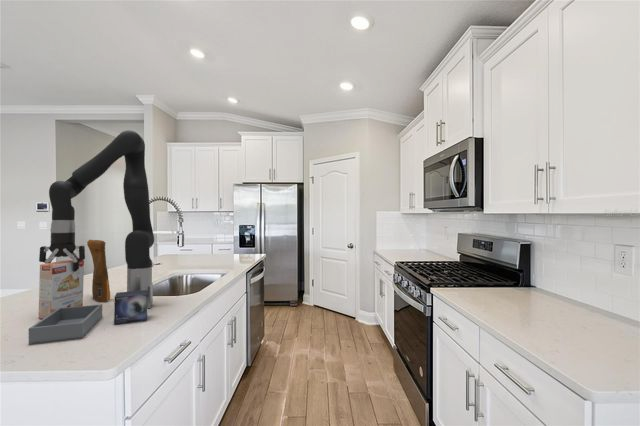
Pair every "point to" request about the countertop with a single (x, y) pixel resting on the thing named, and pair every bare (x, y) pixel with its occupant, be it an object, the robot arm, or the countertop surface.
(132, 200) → the robot arm
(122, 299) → the small box
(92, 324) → the tray
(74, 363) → the countertop surface
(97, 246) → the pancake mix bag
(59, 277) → the cracker box
